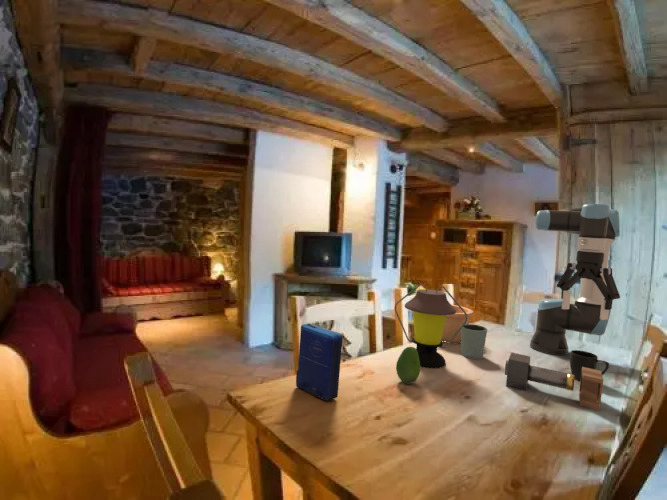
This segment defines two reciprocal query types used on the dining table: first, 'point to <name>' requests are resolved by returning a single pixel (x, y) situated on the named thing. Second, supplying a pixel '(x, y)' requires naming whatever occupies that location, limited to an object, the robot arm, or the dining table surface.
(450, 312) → the lantern
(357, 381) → the dining table surface
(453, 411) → the dining table surface
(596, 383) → the socket
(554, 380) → the tube
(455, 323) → the pottery
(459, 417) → the dining table surface
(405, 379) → the fruit
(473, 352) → the grey green textured cup
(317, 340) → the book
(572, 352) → the mug
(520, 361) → the sleeve
